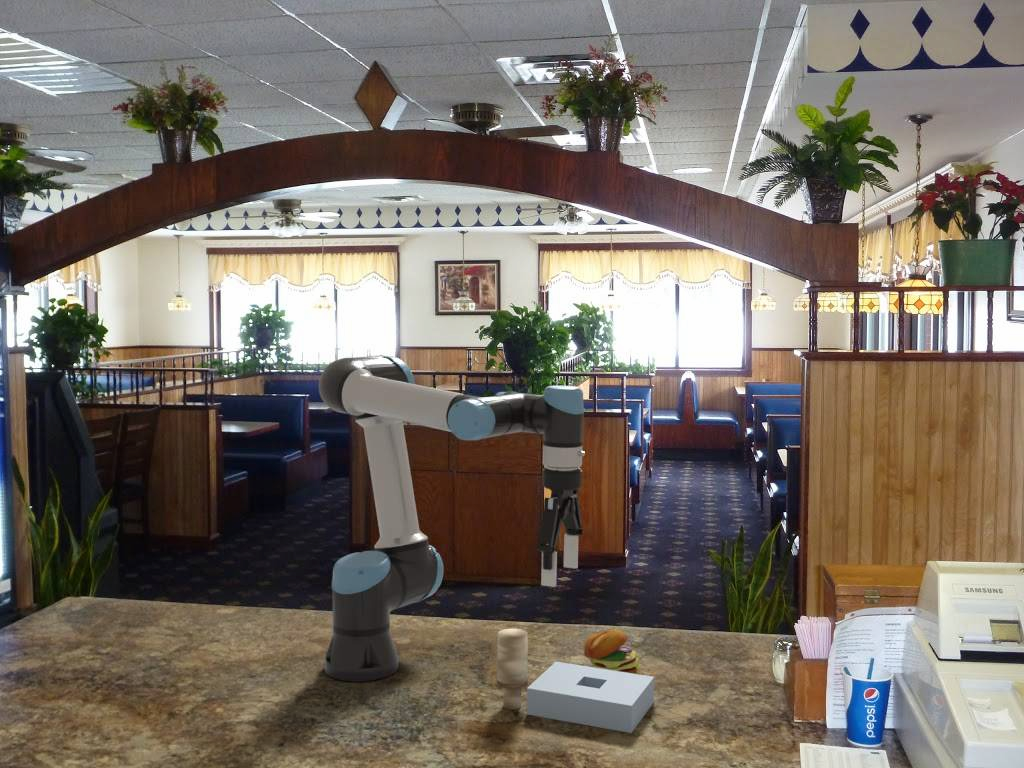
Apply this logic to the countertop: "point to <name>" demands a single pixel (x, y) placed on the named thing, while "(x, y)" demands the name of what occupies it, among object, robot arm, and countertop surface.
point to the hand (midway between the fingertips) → (560, 576)
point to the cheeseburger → (611, 652)
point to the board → (591, 696)
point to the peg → (512, 665)
